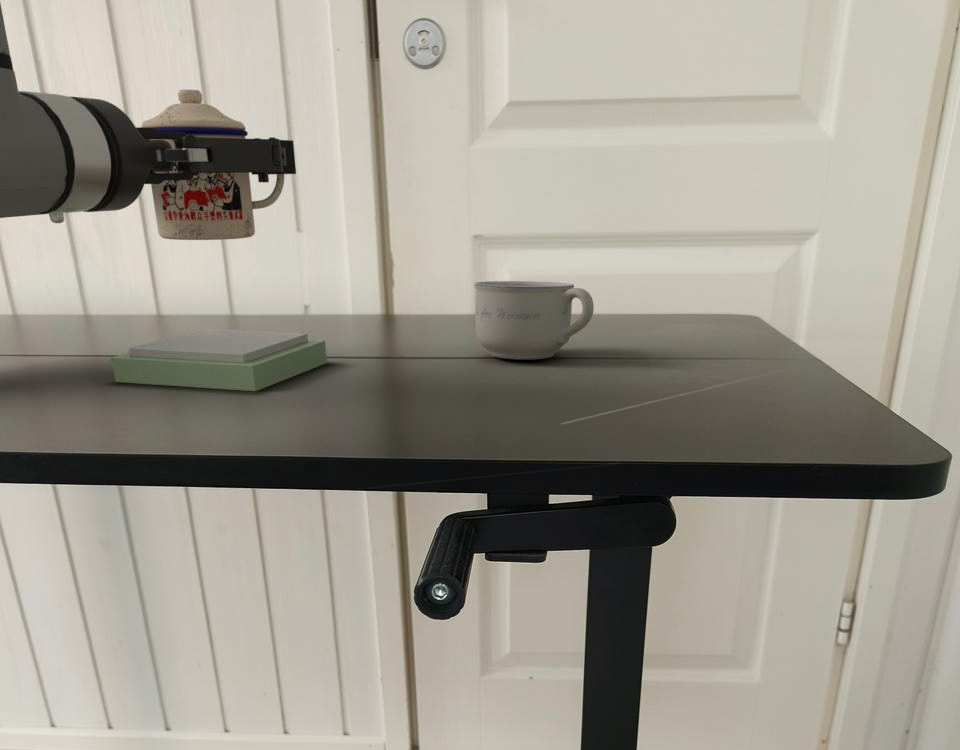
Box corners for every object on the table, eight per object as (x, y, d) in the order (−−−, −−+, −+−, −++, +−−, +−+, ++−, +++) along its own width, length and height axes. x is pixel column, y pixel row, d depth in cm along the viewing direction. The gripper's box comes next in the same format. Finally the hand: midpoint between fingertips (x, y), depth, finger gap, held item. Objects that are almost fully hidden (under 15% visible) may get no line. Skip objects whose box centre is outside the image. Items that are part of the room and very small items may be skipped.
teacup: (455, 356, 102) (453, 280, 99) (524, 345, 109) (525, 273, 105) (543, 374, 93) (545, 291, 89) (613, 361, 99) (618, 282, 96)
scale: (115, 382, 92) (109, 349, 90) (200, 356, 104) (196, 326, 103) (255, 391, 87) (251, 356, 86) (327, 363, 100) (324, 332, 98)
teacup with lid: (154, 241, 79) (130, 84, 74) (158, 234, 87) (137, 93, 82) (294, 238, 82) (281, 88, 77) (285, 232, 90) (273, 95, 85)
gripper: (-40, 211, 72) (137, 202, 90) (218, 213, 65) (352, 203, 83) (-67, 100, 68) (123, 114, 87) (203, 90, 61) (346, 108, 80)
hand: (235, 158), depth 85 cm, fingers closed on teacup with lid, 11 cm apart
